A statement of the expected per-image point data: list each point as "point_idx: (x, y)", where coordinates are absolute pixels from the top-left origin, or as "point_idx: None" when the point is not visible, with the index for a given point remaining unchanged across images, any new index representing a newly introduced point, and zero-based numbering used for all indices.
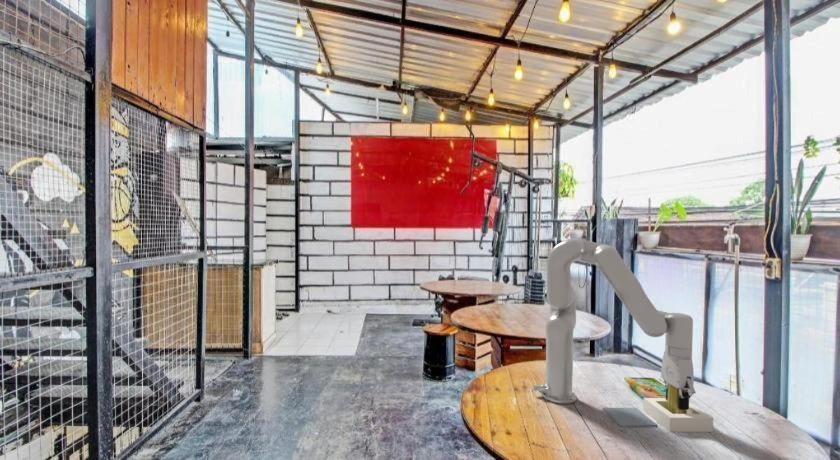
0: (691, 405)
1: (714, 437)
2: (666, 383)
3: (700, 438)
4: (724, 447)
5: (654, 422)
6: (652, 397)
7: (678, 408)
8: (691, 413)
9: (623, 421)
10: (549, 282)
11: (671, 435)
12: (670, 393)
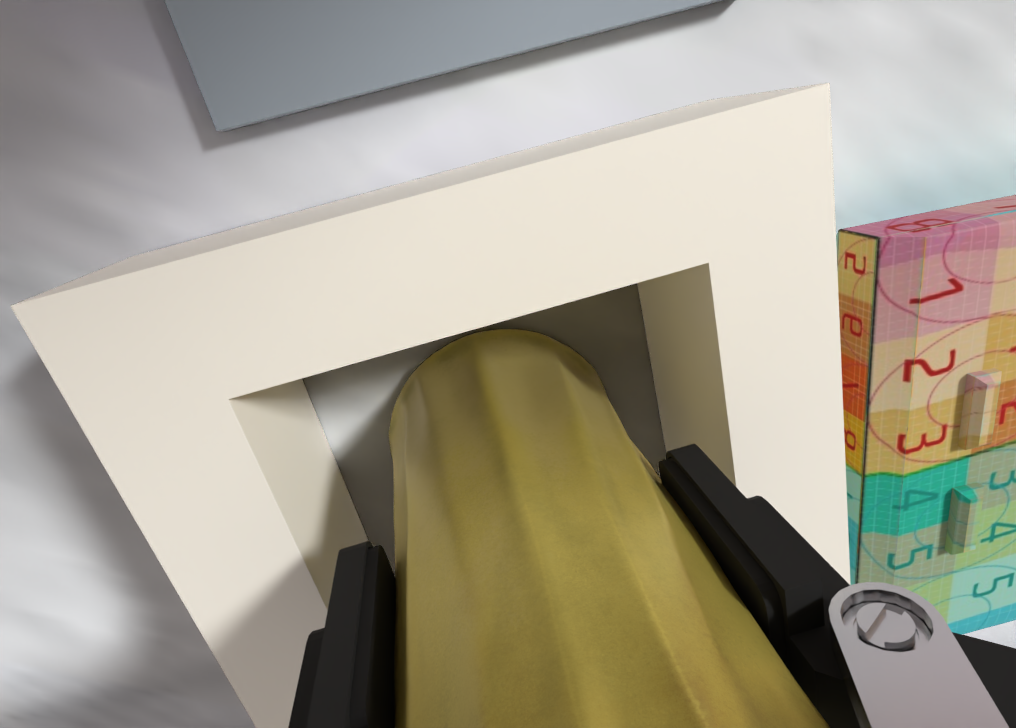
0: None
1: (211, 668)
2: (951, 707)
3: (115, 546)
4: (7, 693)
5: (289, 110)
6: (913, 288)
7: (364, 542)
8: None
9: None
10: None
11: (21, 244)
12: (518, 610)
